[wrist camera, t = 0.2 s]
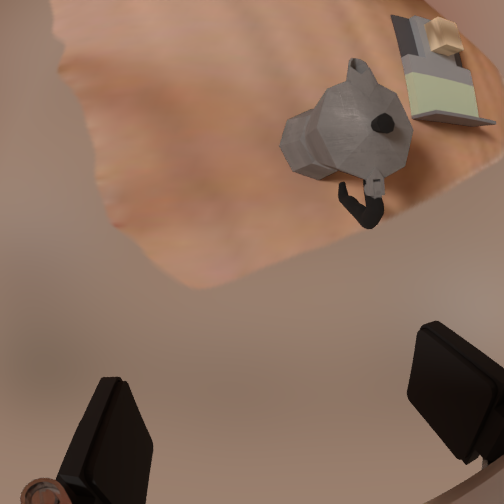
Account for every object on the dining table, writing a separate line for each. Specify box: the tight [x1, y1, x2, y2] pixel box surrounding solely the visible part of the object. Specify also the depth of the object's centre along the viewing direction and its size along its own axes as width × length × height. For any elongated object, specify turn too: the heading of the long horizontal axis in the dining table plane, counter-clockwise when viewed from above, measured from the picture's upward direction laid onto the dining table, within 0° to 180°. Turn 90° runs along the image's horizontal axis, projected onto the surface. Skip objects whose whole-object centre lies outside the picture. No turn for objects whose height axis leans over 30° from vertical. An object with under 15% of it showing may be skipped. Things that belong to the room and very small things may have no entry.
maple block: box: [424, 17, 464, 56], centre depth 31 cm, size 5×4×4 cm
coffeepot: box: [279, 58, 413, 229], centre depth 29 cm, size 15×9×18 cm, turn 6°
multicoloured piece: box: [391, 15, 496, 127], centre depth 34 cm, size 18×14×6 cm
